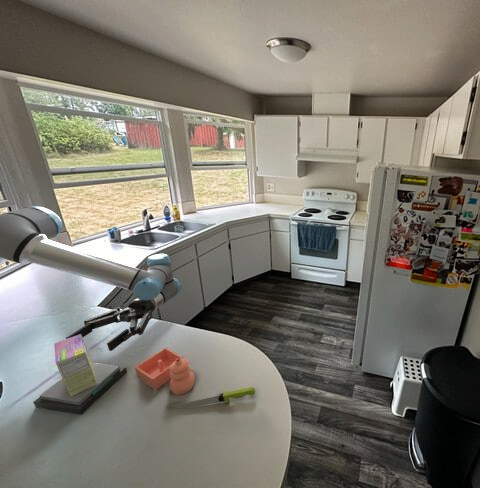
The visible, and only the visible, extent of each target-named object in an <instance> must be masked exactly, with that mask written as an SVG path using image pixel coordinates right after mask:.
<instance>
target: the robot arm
mask: <svg viewBox="0 0 480 488" xmlns="http://www.w3.org/2000/svg"><path fill="white" fill-rule="evenodd" d="M62 230H63V223H62V220H61V218H60V216H59V215H58V214H57V213H55V212H54V211H52V210H51V209H49V208H47V207H44V206H37V205H31V206H23V207H21V208H18V209H15V210H11V211H7V212H3V213H0V266H1V265H3V264H5V263H6V262H7V261H10V262H13V263H17V264H21V265H28V264H34V265H39V266H42V267H46V268H49V269H51V270H56V271H60V272H64V273H66V274H69V275H74V276H78V277H81V278H84V279H88V280H93V281H96V282H99V283H103V284H106V285H110V286H114V287H117V288H121V289H125V290H128V291H132V292H133V295H134V297H136V298H135V299H133V300H132V301H130V302H129V304H128V306H127V307H126V308H124V309H121V308H120V306H118V307H117V306H116V307H115V308H113V309H111V310H109V311H107V312H104V313H101V314H98V315H95V316H94V317H90V318H88V319H85V320H83V324H84V326H81V327H80V328H79V329H77V330H75V331H74V332H73V333H71V334H69V335H68V336H66V337H65V339H68V338H71V337H74V336H77V335H80V334H81V335H82V338H83V339H84V338H85V337H86V336H88V335H90V334H91V333H92V332H93V330H95V329H98V328H103V327H105V326H109V325H111V324H114V323H116V324H119V323H125V322H126V323H130V325H129V326H128V327H129V328H125V329H124V330H122V331H121V332H119V334H117V335H116V336H114V338H112V339H111V340H109V341H108V342H106V346H107V348H108V351H109V352H112V351H114V350H115V349H116V348H118V347H119V346H120V345H122V344H123V343H124V342H127V341H128V340H129V339H130V338H132V337H134V336H136V335H138V336H141V335H143V334H144V332H145V330H146V328H147V326H148V324H149V322H150V321H151V320H152V319H153V318H154V317H153V313H154V312H155V311H156V310H158V309H159V308H160V307H162V306H163V305H164V304H166V303H167V302H168V301H170V300H172V299H173V298H174V297H176V296H177V295H178V294H179V293H180V292H181V289H182V283H181V282H180V280H179V279H177V278H176V277H174V273H173V268H172V262H171V259H170V255H168V254H166V253H157V254H153V255H150V256H148V257H147V258H146V266H147V269H146V270H144V269H141V268H137V267H134V266H132V265H128V264H126V263H121V262H119V261H116V260H112V259H109V258H106V257H103V256H100V255H97V254H94V253H91V252H88V251H85V250H81V249H78V248H75V247H72V246H69V245H66V244H62V243H59V242H57V241H53V240H51V239H53V238H56V237H57V236H58V235H59V234H60V233H61V232H62ZM139 320H140V322H139Z"/></svg>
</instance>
